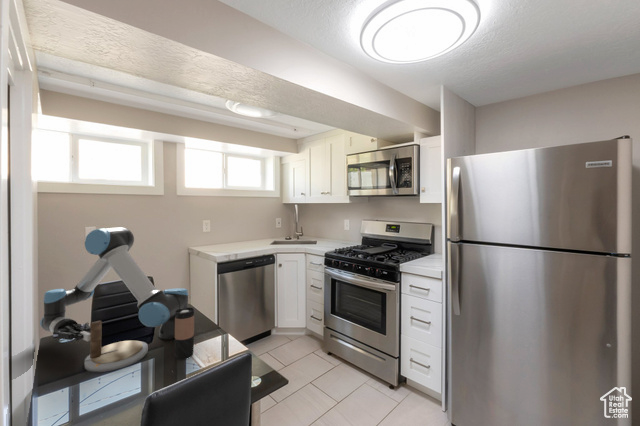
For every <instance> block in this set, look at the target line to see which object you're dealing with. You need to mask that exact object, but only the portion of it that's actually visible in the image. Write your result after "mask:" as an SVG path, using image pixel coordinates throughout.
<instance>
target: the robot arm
mask: <svg viewBox="0 0 640 426" xmlns="http://www.w3.org/2000/svg"><path fill="white" fill-rule="evenodd" d="M84 240H85V241H84V248H85V250H86V252H87V253H89V254H91V255H95V256H98V257H99V258H98V259H97V260H96V261H95V262H94V264H93V265H91V267H90V268H89V270H88V271H87V272H86V273H85V275H84V276H82V278H81V279H80V280H79V282H78V283H77V284H76V285H75V286H74V287H73V288H71V289H68V290H66V289H65V288H54V289H51V290H47V291H46V292H44V296H43V317H42V318H41V320H40V322H39V325H40V327H41V328H42V329H43V330H44V331H47V332H50V333H52V338H53V339H59V340H61V339H62V340H68V341H72V340H74V339H75V341H79V340H83V341H86V342H90V323H89V322H85V323H83V324H81V323H78V322H77V321H76V320H74V319H73V318H70V317H67V316H66V310H67V309H66V308H67V307H68V306H72V305H74V304H77V303H80V302H84V301H86V300H88V299H91V298H92V297H93V296H94V293H95V288H96V287H97V286H98V285H99V283H100V282H101V281H102V280H103V279H104V277H105V276H107V274H108V273H109V271H110V270H111V269H113V270H114V272H115V273H116V275H118V277H119V278H120V279H121V281H122V282H123V284H125V286H126V287H127V289H128V290H129V291H130V292H131V294H132V295H133V296H134V297H135V299H136V300H137V306H136V307H137V308H138V310H139V311H138V315H137V316H138V319H139V321H140V323H141V324H143V325H144V326H145V327H148V328H157V327H159V326H160V328H159V329H158V330H159V331H158V337H159V338H160V339H163V340H174V339H173V338H175V311H176V310H178V309H186V308H189V291H188V289H187V288H184V287H183V288H182V287H181V288H180V287H178V288H177V287H176V288H168V289H164V290H162V289H157V288H156V287H155V286H154V284H153V283H152V281H151V280H150V278H148V277H149V276H147V275H146V274H145V272H144V271H143V270H142V268H141V267H140V265H138V263H137V262H136V261H135V258H133V256H132V255H131V254H130V253H129V251H130V250H131V249H132V247H133V245H134V242H135V235H134V234H133V232H132V231H131V230H130V229H128V228H126V227H110V228H109V227H108V228H107V227H103V228H95V229H93V230H91V231H90V232H88V234H87V235H86V236H85V239H84Z"/></svg>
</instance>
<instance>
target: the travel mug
mask: <svg viewBox="0 0 640 426" xmlns="http://www.w3.org/2000/svg"><path fill="white" fill-rule="evenodd" d="M194 340H195V308H194V307H188V308H186V309H178V310H176V311H175V339H174V356H175V357H174V358H175V359H176V360H178V361H182V360H184V361H185V360H186V359H187V358H188V359H189V357H190V358H192V357H193V356H194V346H195V345H194V343H195V341H194Z"/></svg>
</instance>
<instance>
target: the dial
mask: <svg viewBox="0 0 640 426" xmlns="http://www.w3.org/2000/svg"><path fill="white" fill-rule="evenodd" d="M102 324H103V322H102V320H95V321H92V322H90V323H89V326H90V341H89V355H90V358H91V361H92V362H94V363H100V364H103V363H112V362H117V361H121V360H124V359H127V358H129V357H131V356H133V355H135V354H137V353H138V352H140V351H141V350H142V348H143V344H142V342H143V341H141V342H140V340H123V341H121V340H120V341H118V342H117V341H116V342H113V343H110V344H107V345H104V346H102V328H103V326H102Z"/></svg>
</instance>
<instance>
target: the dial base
mask: <svg viewBox="0 0 640 426" xmlns="http://www.w3.org/2000/svg"><path fill="white" fill-rule="evenodd" d="M139 341H140V340H139ZM140 342H142V344H143V348H142V350H141V351H140V352H138V353H137V354H135V355H133V356H131V357H129V358H127V359H124V360H121V361H117V362H112V363H103V364H100V363H94V362H92V361H91V358H90V354H89V355H87V356H86V357H85V358H84V369H85V370H86V371H87V372H94V373H102V372H109V371H114V370H119V369H121V368H125V367H128V366H130V365H132V364H135V363H137V362H139V361H141V360H142V359H143V358H144V357H145V356H146V355H148V352H149V347H148V343H147V342H145V341H140Z"/></svg>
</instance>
